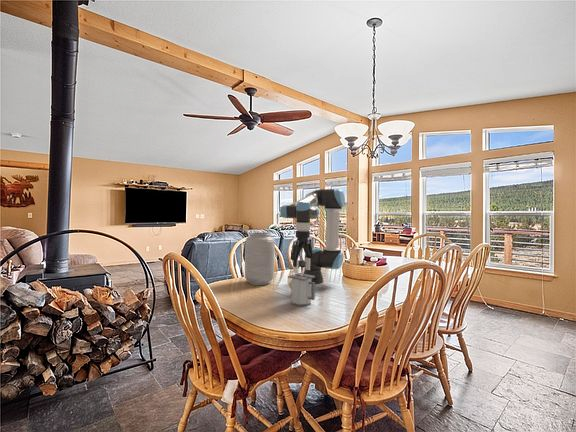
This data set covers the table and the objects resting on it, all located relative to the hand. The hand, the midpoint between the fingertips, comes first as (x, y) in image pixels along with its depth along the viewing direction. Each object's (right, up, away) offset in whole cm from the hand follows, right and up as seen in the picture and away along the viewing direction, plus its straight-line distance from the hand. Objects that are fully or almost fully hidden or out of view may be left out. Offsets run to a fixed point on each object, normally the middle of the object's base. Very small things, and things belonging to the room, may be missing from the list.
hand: (301, 271), depth 163 cm
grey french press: (+1, -17, 0) cm, 17 cm away
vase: (-27, -16, +43) cm, 53 cm away
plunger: (0, -11, 0) cm, 11 cm away
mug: (0, -17, +20) cm, 27 cm away
